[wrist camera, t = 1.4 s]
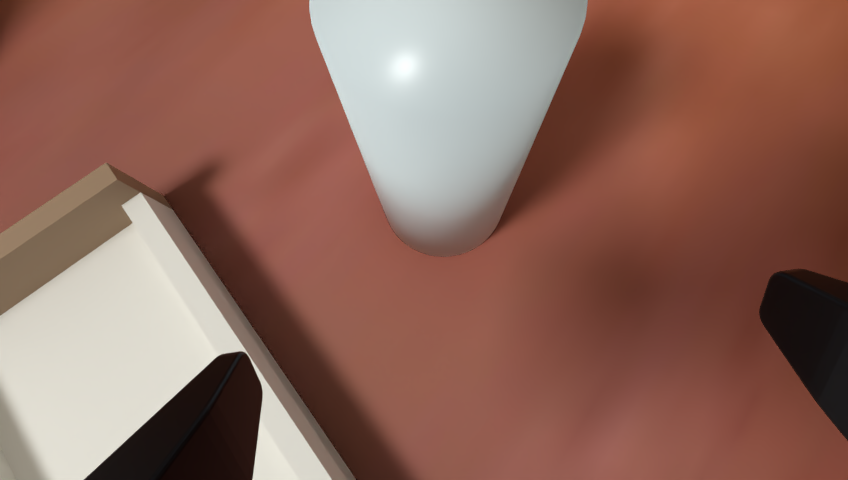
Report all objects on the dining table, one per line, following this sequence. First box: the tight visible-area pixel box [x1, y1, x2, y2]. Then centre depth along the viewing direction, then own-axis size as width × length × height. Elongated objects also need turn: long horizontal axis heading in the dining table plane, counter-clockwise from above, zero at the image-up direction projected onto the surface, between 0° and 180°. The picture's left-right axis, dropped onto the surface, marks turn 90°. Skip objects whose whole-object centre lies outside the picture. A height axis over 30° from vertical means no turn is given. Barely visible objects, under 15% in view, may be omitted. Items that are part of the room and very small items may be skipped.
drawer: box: [0, 163, 356, 480], centre depth 18 cm, size 20×12×4 cm, turn 39°
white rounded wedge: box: [309, 0, 588, 257], centre depth 16 cm, size 6×6×13 cm
